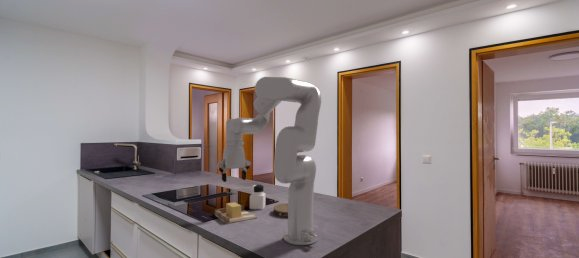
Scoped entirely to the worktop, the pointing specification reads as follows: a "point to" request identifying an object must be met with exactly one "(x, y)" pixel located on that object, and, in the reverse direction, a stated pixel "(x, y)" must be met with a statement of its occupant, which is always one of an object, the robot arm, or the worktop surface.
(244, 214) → the tray
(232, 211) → the mustard block
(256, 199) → the medicine bottle
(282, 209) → the tan flat round disc
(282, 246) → the worktop surface
